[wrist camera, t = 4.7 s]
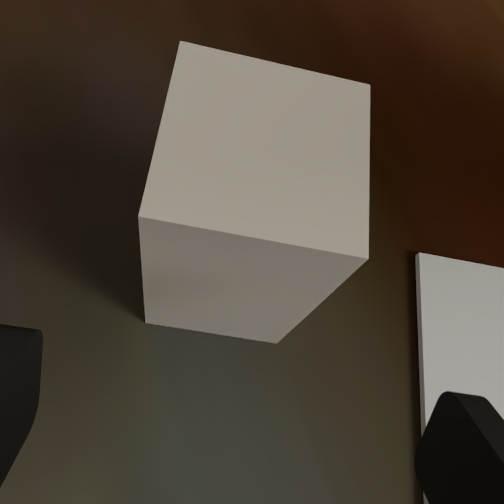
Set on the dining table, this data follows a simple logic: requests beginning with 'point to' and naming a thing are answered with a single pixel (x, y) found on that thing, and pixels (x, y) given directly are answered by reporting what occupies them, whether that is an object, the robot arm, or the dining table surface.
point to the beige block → (253, 195)
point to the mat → (459, 331)
